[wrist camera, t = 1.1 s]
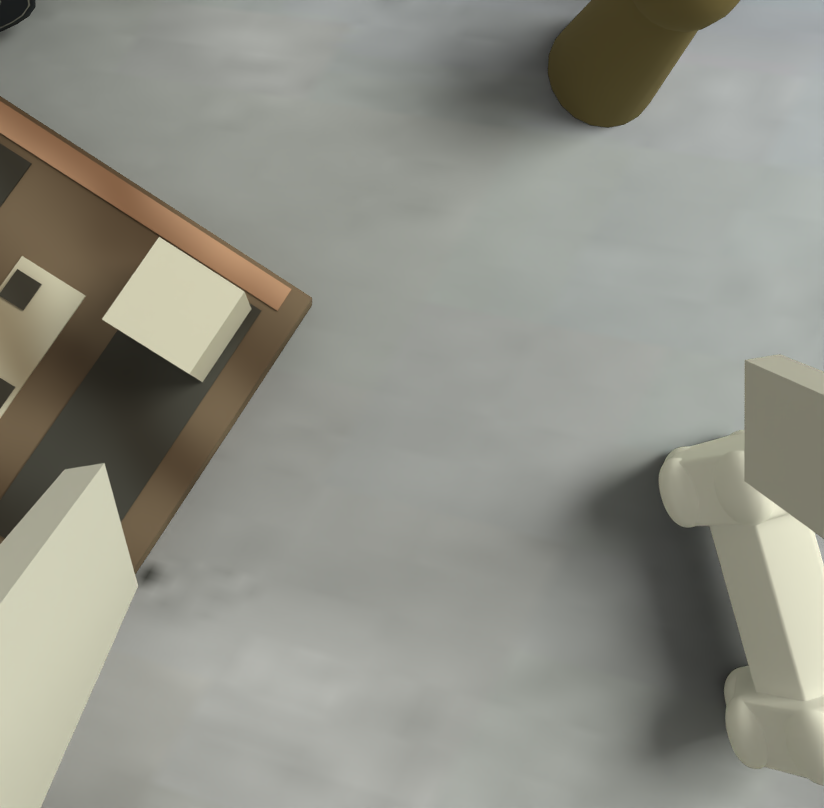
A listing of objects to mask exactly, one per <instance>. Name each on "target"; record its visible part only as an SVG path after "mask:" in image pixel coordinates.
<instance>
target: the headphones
mask: <svg viewBox="0 0 824 808" xmlns="http://www.w3.org/2000/svg"><path fill="white" fill-rule="evenodd" d="M34 8H35V0H0V32H1V31H3V30H5V29H7V28H10V27H12V26H14V25H16V24H18V23H19V22H21V21H22V20H24V19H25V18H27V17H28V16H29V15H30V14H31V12H32V11H33V10H34Z"/></svg>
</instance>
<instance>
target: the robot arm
mask: <svg viewBox="0 0 824 808" xmlns="http://www.w3.org/2000/svg"><path fill="white" fill-rule="evenodd" d="M744 481H745V482H746V483H747V484H749V485H750V486H752V487H753V488H754V489H756V490H757V491H758V492H760V493H761V494H763V495H764V496H765V497H767V498H768V499H769V500H771V501H772V502H774V503H775V504H776V505H778V506H779V507H780V508H782V509H783V510H785V511H786V512H787V513H789V514H790V515H791V516H793V517H794V518H796V519H797V520H798V521H800V522H801V523H802V524H804V525H805V526H807V527H808V528H809V529H811V530H812V531H813V532H815V533H816V534H818V535H819V536H820V537H822V538H823V539H824V372H823V371H820V370H818V369H815V368H813V367H810V366H808V365H805V364H803V363H800V362H798V361H795V360H793V359H790V358H788V357H785V356H783V355H780V354H779V355H773V356H767V357H761V358H755V359H748V360H745V442H744ZM137 587H138V584H137V580H136V577H135V573H134V569H133V566H132V562H131V558H130V555H129V551H128V547H127V544H126V540H125V536H124V533H123V529H122V525H121V522H120V518H119V514H118V511H117V507H116V503H115V500H114V496H113V492H112V489H111V485H110V481H109V478H108V474H107V471H106V467H105V463H102V464H95V465H89V466H83V467H77V468H71V469H65V470H64V471H63V472H62V473H61V474H60V475H59V477H58V478H57V479H56V480H55V481H54V482H53V484H52V485H51V486H50V487H49V488H48V489H47V491H46V492H45V493H44V494H43V495H42V496H41V497H40V499H39V500H38V501H37V502H36V503H35V504H34V506H33V507H32V508H31V509H30V510H29V511H28V513H27V514H26V515H25V516H24V517H23V518H22V520H21V521H20V522H19V523H18V524H17V525H16V527H15V528H14V529H13V530H12V531H11V532H10V534H9V535H8V536H7V537H6V538H5V539H4V541H3V542H2V543H1V544H0V808H41V806H42V803H43V801H44V799H45V797H46V794H47V792H48V790H49V787H50V785H51V783H52V781H53V778H54V776H55V774H56V772H57V769H58V767H59V765H60V762H61V760H62V758H63V756H64V753H65V751H66V749H67V747H68V744H69V742H70V740H71V737H72V735H73V733H74V731H75V728H76V726H77V724H78V722H79V719H80V717H81V715H82V712H83V710H84V708H85V706H86V703H87V701H88V699H89V696H90V694H91V692H92V690H93V687H94V685H95V683H96V681H97V678H98V676H99V674H100V671H101V669H102V667H103V665H104V662H105V660H106V658H107V656H108V653H109V651H110V649H111V646H112V644H113V642H114V640H115V637H116V635H117V633H118V631H119V628H120V626H121V624H122V621H123V619H124V617H125V615H126V612H127V610H128V608H129V605H130V603H131V601H132V599H133V596H134V594H135V592H136V590H137Z"/></svg>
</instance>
